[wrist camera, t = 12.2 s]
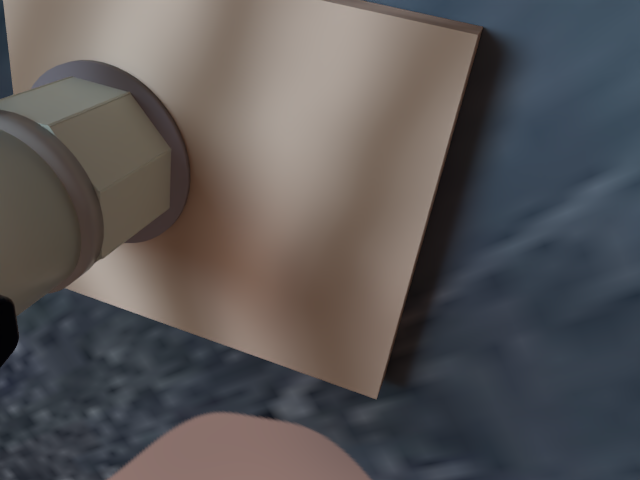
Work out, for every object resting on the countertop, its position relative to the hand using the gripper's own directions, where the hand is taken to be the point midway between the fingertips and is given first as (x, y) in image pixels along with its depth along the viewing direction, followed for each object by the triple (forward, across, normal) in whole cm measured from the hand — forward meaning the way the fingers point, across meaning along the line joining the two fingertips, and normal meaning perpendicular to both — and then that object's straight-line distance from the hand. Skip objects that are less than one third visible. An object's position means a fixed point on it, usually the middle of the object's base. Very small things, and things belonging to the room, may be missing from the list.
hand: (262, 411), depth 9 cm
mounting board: (+13, +7, +3) cm, 15 cm away
